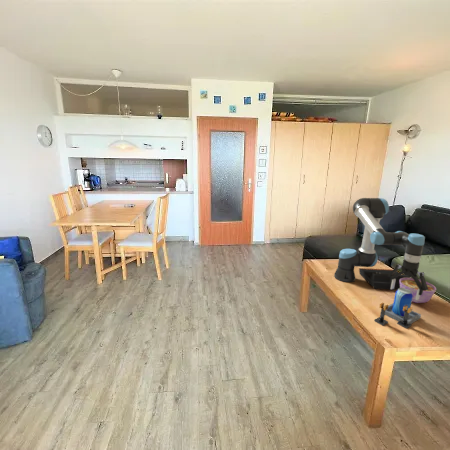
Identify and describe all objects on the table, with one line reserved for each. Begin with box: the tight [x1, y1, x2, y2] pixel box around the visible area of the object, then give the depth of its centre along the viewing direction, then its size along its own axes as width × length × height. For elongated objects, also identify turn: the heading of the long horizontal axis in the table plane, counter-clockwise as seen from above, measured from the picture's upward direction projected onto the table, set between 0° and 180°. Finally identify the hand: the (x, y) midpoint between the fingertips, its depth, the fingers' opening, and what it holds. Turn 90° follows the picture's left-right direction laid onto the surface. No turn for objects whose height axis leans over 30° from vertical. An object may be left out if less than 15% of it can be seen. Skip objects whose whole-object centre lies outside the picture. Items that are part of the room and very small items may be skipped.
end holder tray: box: [384, 303, 422, 324], centre depth 154 cm, size 15×15×2 cm
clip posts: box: [374, 302, 413, 330], centre depth 145 cm, size 13×14×11 cm
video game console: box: [358, 267, 411, 291], centre depth 196 cm, size 28×25×10 cm
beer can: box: [392, 288, 413, 318], centre depth 153 cm, size 8×8×16 cm
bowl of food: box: [399, 277, 437, 304], centre depth 171 cm, size 20×20×12 cm
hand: (404, 293), depth 151 cm, fingers open, 13 cm apart
